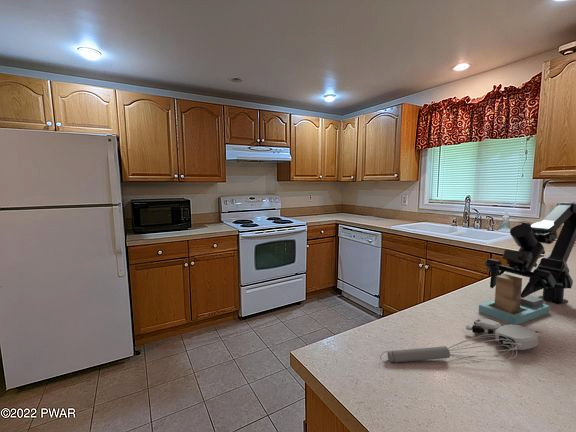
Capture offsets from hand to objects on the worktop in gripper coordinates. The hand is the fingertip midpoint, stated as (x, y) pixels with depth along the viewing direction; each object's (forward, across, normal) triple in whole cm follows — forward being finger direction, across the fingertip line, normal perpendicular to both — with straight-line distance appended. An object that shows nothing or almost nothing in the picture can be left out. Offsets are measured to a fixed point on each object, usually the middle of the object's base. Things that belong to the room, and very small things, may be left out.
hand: (505, 292), depth 93 cm
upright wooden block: (+5, 0, +7) cm, 8 cm away
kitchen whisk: (+33, +9, -21) cm, 41 cm away
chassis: (+2, 0, +10) cm, 10 cm away
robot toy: (+18, +9, -6) cm, 21 cm away
